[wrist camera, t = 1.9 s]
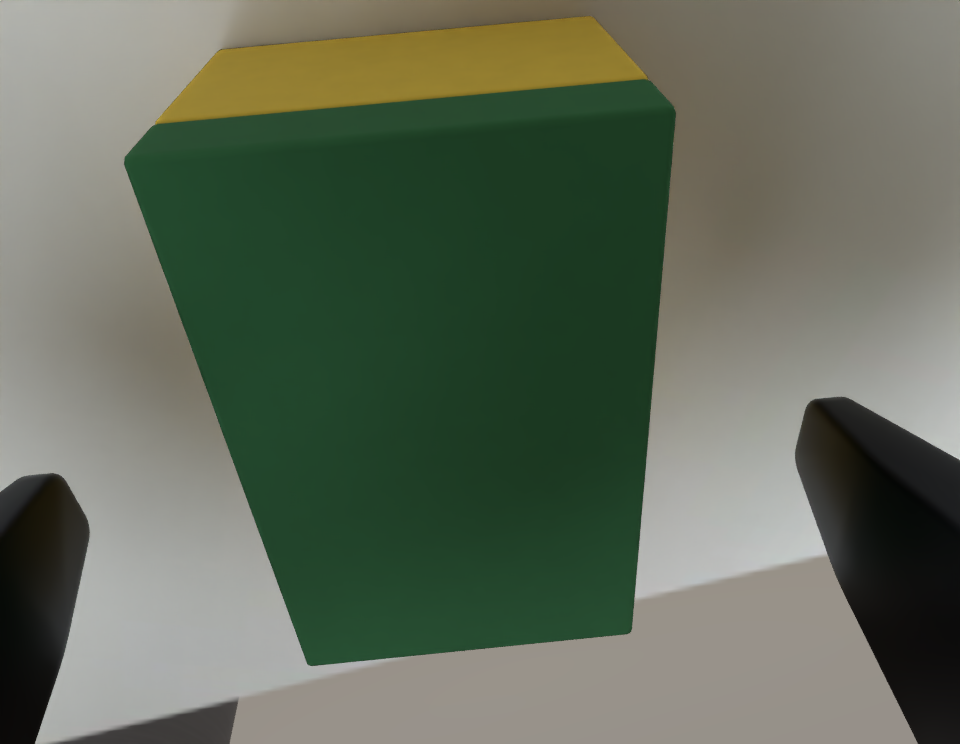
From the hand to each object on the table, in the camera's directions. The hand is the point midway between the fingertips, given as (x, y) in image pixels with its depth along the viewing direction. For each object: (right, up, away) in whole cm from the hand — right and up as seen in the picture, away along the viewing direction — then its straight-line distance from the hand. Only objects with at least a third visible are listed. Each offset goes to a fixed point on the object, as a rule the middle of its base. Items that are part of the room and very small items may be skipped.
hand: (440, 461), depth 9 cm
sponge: (0, +2, +3) cm, 4 cm away
